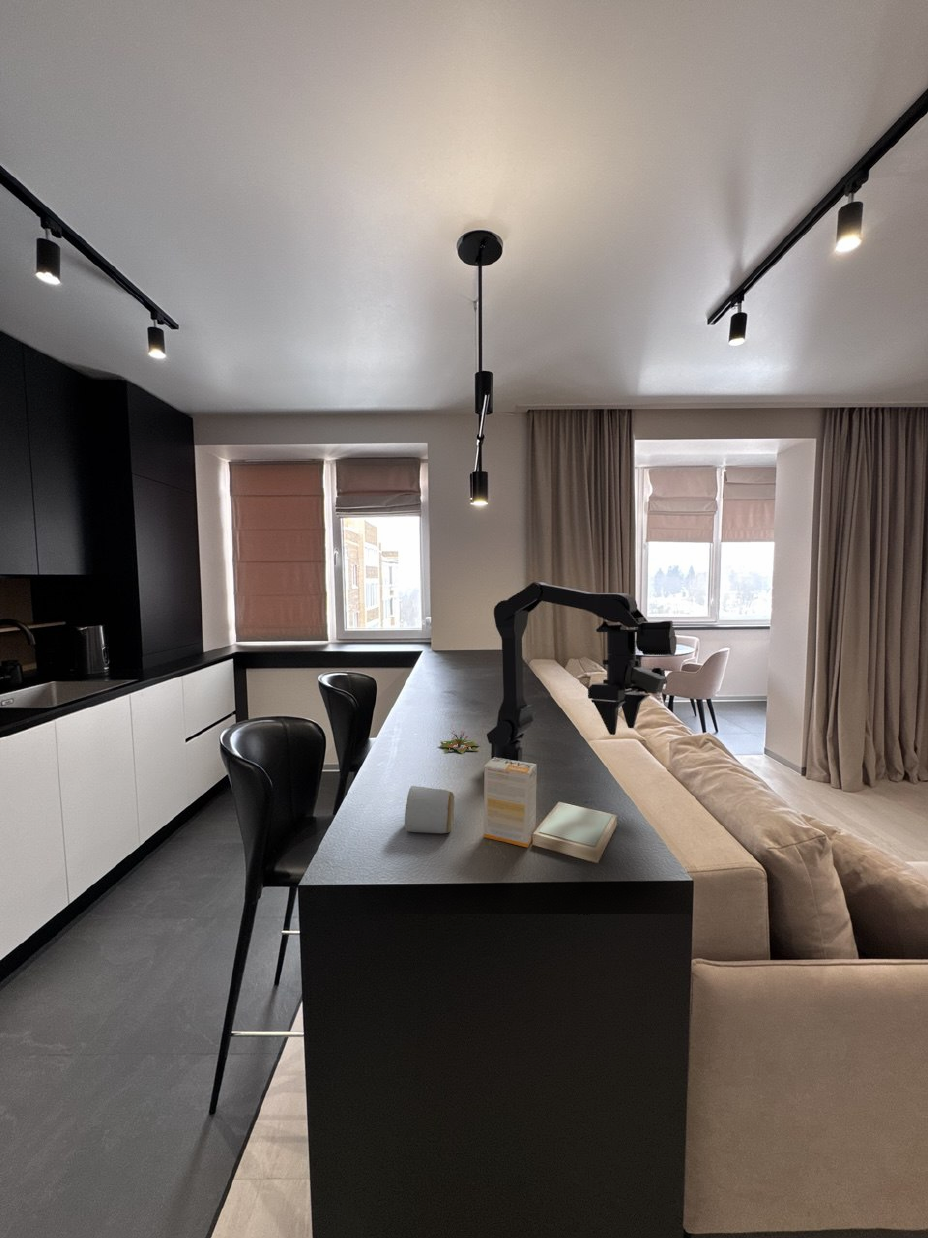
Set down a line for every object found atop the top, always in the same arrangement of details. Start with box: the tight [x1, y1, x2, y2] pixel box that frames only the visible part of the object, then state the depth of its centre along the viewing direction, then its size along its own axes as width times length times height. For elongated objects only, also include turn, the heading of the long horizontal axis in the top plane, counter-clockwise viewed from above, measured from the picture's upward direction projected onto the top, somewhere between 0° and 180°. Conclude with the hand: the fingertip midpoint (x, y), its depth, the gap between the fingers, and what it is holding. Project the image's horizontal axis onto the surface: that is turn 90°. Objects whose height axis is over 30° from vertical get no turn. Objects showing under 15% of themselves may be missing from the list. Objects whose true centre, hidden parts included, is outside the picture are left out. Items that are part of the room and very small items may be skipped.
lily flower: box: [437, 730, 479, 755], centre depth 135 cm, size 12×12×5 cm
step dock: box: [532, 801, 618, 864], centre depth 90 cm, size 11×14×2 cm
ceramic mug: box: [404, 785, 455, 834], centre depth 92 cm, size 11×8×8 cm
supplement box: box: [483, 757, 538, 848], centre depth 89 cm, size 8×5×13 cm, turn 65°
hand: (622, 731), depth 104 cm, fingers open, 9 cm apart
